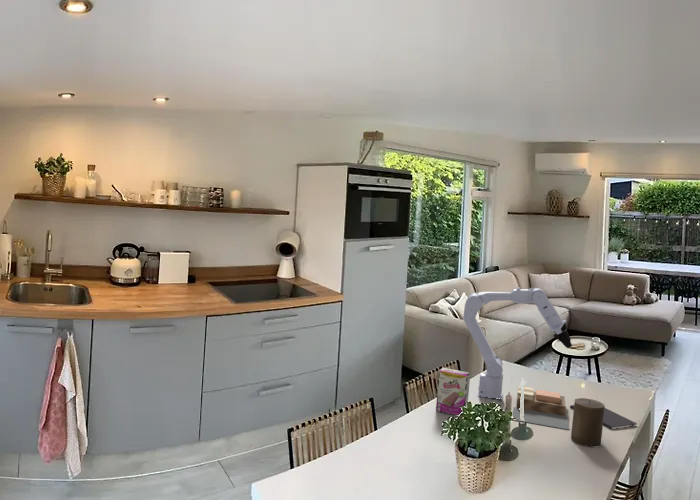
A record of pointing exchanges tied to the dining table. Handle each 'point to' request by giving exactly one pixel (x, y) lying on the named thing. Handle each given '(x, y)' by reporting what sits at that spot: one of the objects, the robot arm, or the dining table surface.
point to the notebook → (614, 420)
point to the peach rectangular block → (548, 396)
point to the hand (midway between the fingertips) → (569, 344)
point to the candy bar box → (452, 390)
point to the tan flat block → (544, 405)
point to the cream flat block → (526, 393)
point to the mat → (542, 418)
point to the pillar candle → (587, 422)
